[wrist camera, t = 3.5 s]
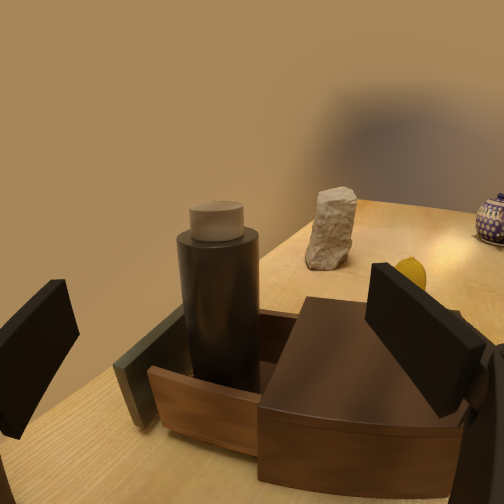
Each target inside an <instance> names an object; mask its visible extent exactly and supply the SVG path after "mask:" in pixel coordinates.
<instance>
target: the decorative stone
mask: <svg viewBox="0 0 504 504" xmlns="http://www.w3.org/2000/svg"><path fill="white" fill-rule="evenodd" d="M356 205H357V198H356V196H355V195H354V191H353V190H351V189H348V188H346V187H344V186H343V187H339V188H334V189H329V190H326V191H319V193H318V198H317V209H316V210H317V212H316V216H315V219H314V222H313V226H312V234H311V236H310V243H309V246H308V247H307V250H306V253H305V258H306V262H307V264H308V266H309V268H310V269H312V270H326V271H328V270H333V269H335V268H336V267H337V266H338V264H340V263H341V262H342V261H344V260H346V259H347V256H348V255H347V253H348V251H349V250H350V248H351V246H352V240H351V234H352V228H353V225H354V217H355V210H356Z"/></svg>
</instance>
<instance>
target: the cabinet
mask: <svg viewBox="0 0 504 504" xmlns="http://www.w3.org/2000/svg"><path fill="white" fill-rule="evenodd" d="M366 306H367V303H364V302H354V301H344V300H335V299H326V298H317V297H308V296H307V297H306V299H305V301H304V304H303V306H302V308H301V311H300V313H299V315H298V318H297V320H296V322H295V325H294V327H293V329H292V332H291V334H290V336H289V338H288V341H287V343H286V345H285V347H284V350H283V352H282V354H281V356H280V358H279V361H278V363H277V365H276V367H275V369H274V371H273V374H272V376H271V378H270V380H269V382H268V384H267V386H266V388H265V391H264V393H263V395H262V397H261V399H260V401H259V403H258V405H257V463H258V480H259V481H263V482H268V483H272V484H276V485H281V486H286V487H291V488H296V489H302V490H308V491H314V492H321V493H328V494H336V495H345V496H355V497H369V498H391V499H419V498H441V497H448V496H449V495H450V493H451V489H452V485H453V481H454V476H455V472H456V467H457V462H458V457H459V451H460V446H461V439H462V433H463V425H464V423H463V424H462V425H461V427H460V428H459V429H457V426H458V424H459V422H460V420H461V418H462V416H463V415H464V413H465V411H466V409H467V407H468V405H469V404H468V403H467V401H466V400H465V399H464V398H463V401H462V403H461V405H460V407H459V408H458V410H457V412H455V413H453V414H450V415H448V416H446V417H443V418H440V419H439V417H438V416H437V415H436V413H435V412H434V410H433V409H432V408H431V406H430V405H429V404H428V402H427V401H426V399H425V398H424V397H423V395H422V394H421V393H420V391H419V390H418V389H417V387H416V386H415V385H414V383H413V382H412V381H411V379H410V378H409V377H408V375H407V374H406V373H405V371H404V370H403V369H402V367H401V366H400V365H399V363H398V362H397V361H396V359H395V358H394V357H393V356H392V354H391V353H390V352H389V350H388V349H387V348H386V346H385V345H384V344H383V343H382V341H381V340H380V339H379V337H378V336H377V335H376V334H375V332H374V331H373V330H372V329H371V327H370V326H369V325H368V323H367V322H366V321H365V320H364V319H365V313H366ZM451 311H453V312H455V313H457V314H459V315H460V316H461V317H462V315H461V313H460V311H458V310H451ZM462 318H463V317H462Z"/></svg>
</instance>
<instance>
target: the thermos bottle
mask: <svg viewBox="0 0 504 504" xmlns="http://www.w3.org/2000/svg"><path fill="white" fill-rule="evenodd" d="M189 214H190V215H189V216H190V230H187V231H185V232H182V233H181V234H179V235H178V236H177V251H178V261H179V271H180V280H181V289H182V298H183V306H184V314H185V321H186V328H187V336H188V343H189V349H190V356H191V362H192V368H193V375H194V378H196V379H199V380H203V381H207V382H210V383H214V384H218V385H222V386H226V387H230V388H234V389H238V390H243V391H247V392H252V393H256V394H259V393H260V307H259V234H258V232H257V231H255V230H254V229H251V228H248V227H244V219H243V204H241V203H238V202H231V201H214V202H204V203H198V204H194V205H192V206H190V207H189Z"/></svg>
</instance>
